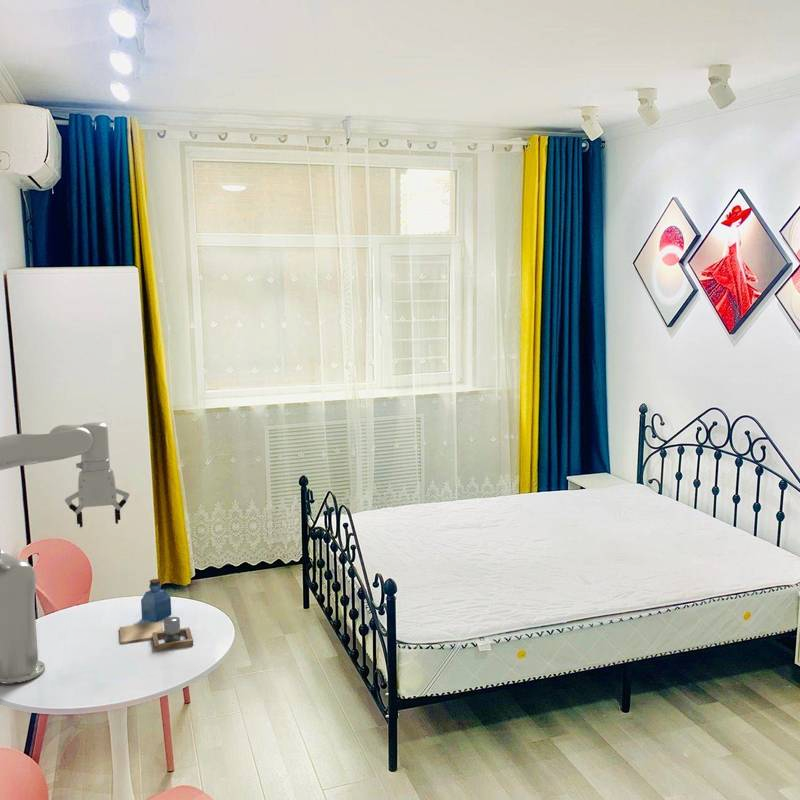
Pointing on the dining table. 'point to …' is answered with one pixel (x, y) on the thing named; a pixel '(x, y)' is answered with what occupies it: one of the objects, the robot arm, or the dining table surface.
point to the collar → (176, 643)
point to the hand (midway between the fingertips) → (99, 524)
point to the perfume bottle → (155, 603)
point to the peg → (172, 629)
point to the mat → (139, 632)
